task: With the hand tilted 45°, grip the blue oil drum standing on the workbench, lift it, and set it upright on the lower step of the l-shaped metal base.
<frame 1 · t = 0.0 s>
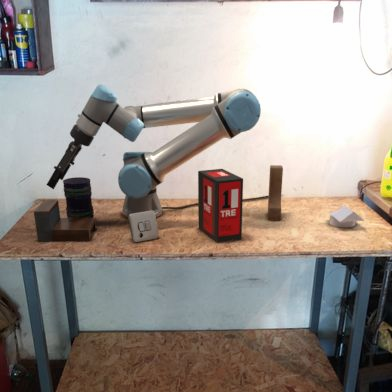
hand: (54, 182, 201), 15 cm above the table, tool tilted 35°, fingers open, 13 cm apart
cleaning product box: (219, 234, 198), on the table
wedge on round base: (344, 225, 205), on the table
l-shaped metal base: (68, 234, 199), on the table
electrical switch: (143, 239, 194), on the table
blue oil drum: (81, 221, 213), on the table
wooden block: (273, 217, 215), on the table
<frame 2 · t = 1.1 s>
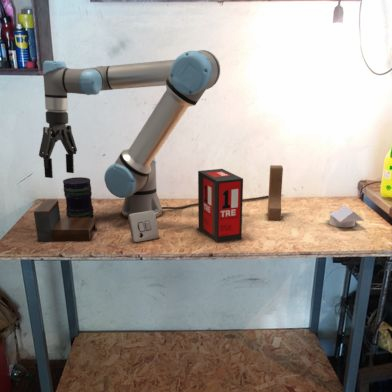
hand: (59, 175, 205), 17 cm above the table, tool pointing down, fingers open, 13 cm apart
nothing on the table moved.
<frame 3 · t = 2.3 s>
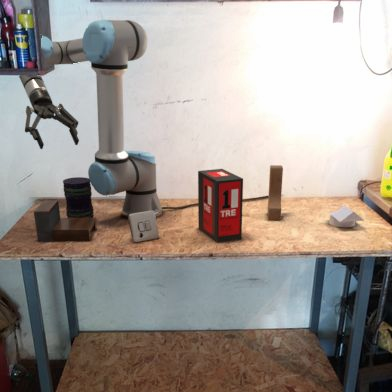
hand: (60, 144, 208), 26 cm above the table, tool tilted 45°, fingers open, 13 cm apart
nothing on the table moved.
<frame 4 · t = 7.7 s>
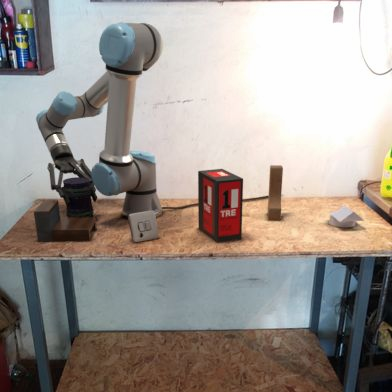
hand: (82, 202, 207), 8 cm above the table, tool tilted 45°, fingers closed on blue oil drum, 10 cm apart
blue oil drum: (81, 221, 213), on the table, touching gripper
everything else where it was.
when the fingers open (12 cm above the table, at t = 16.7 s): blue oil drum stays where it is, resting on l-shaped metal base.
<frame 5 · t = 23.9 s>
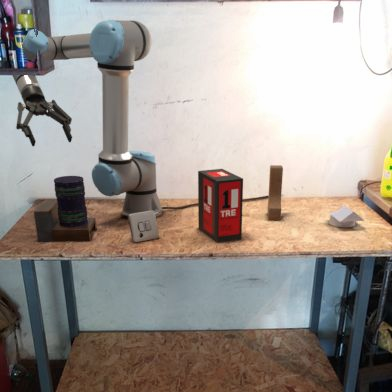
hand: (52, 141, 202), 28 cm above the table, tool tilted 45°, fingers open, 13 cm apart
blue oil drum: (73, 223, 197), point 4 cm above the table, touching l-shaped metal base
everything else where it was.
at the end: blue oil drum inside the target area on the l-shaped metal base (0.1 cm from its centre), point 3.8 cm above the l-shaped metal base's base; blue oil drum tilted 0°; the gripper is holding nothing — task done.
